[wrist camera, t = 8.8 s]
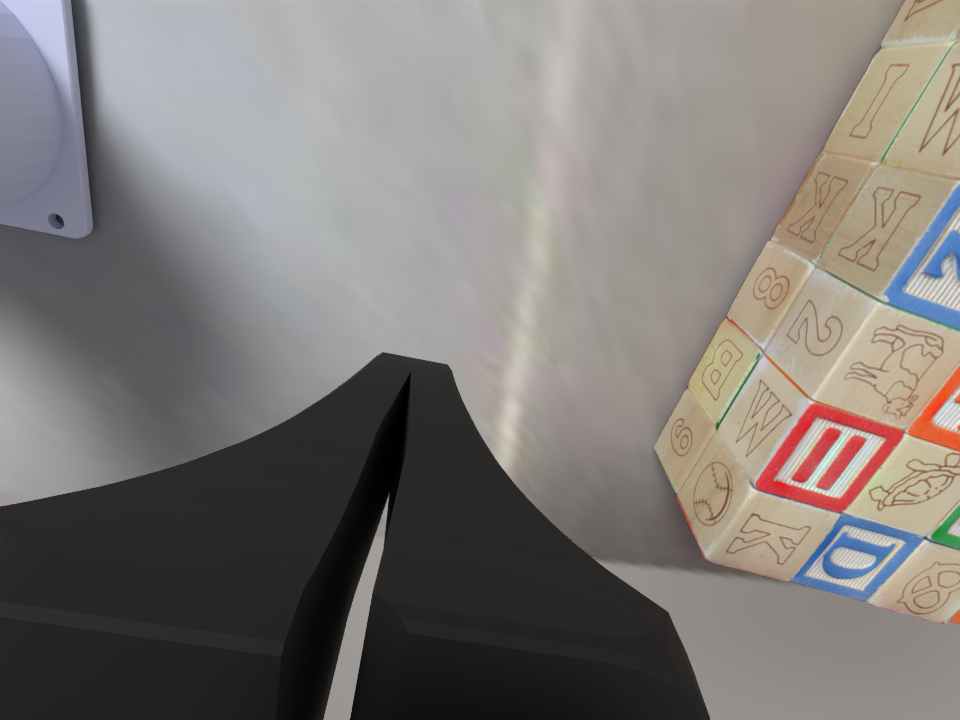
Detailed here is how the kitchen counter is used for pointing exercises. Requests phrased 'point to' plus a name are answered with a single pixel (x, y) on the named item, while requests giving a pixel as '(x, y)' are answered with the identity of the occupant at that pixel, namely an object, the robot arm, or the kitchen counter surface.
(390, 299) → the kitchen counter surface
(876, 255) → the stack of blocks
